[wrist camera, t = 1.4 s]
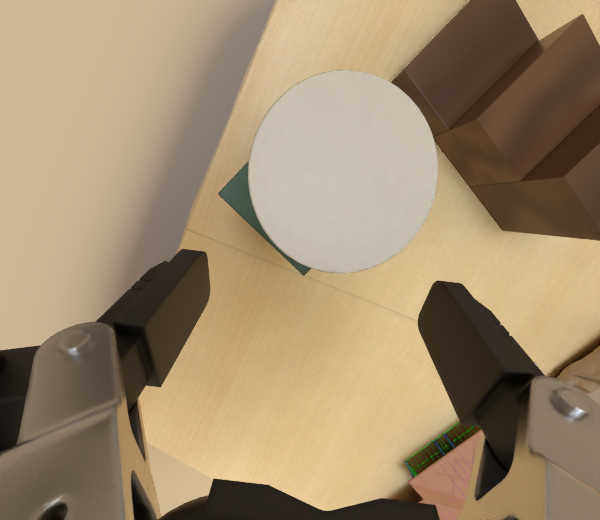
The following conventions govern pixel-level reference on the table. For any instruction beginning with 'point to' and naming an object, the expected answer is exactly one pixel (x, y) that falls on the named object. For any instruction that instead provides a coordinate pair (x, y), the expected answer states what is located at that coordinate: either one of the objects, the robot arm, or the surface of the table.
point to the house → (447, 477)
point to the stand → (250, 209)
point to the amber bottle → (343, 171)
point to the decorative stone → (585, 375)
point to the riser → (516, 115)
